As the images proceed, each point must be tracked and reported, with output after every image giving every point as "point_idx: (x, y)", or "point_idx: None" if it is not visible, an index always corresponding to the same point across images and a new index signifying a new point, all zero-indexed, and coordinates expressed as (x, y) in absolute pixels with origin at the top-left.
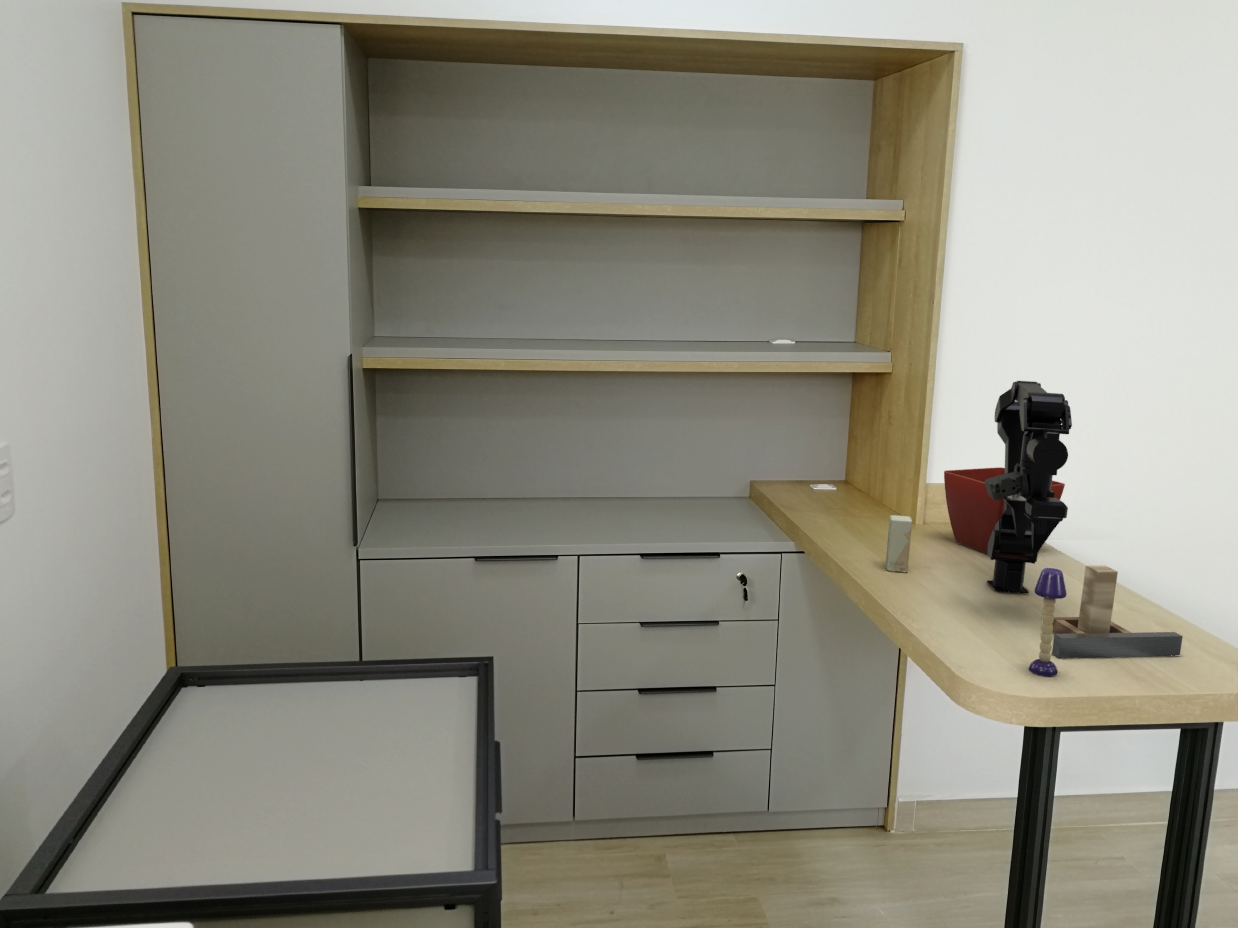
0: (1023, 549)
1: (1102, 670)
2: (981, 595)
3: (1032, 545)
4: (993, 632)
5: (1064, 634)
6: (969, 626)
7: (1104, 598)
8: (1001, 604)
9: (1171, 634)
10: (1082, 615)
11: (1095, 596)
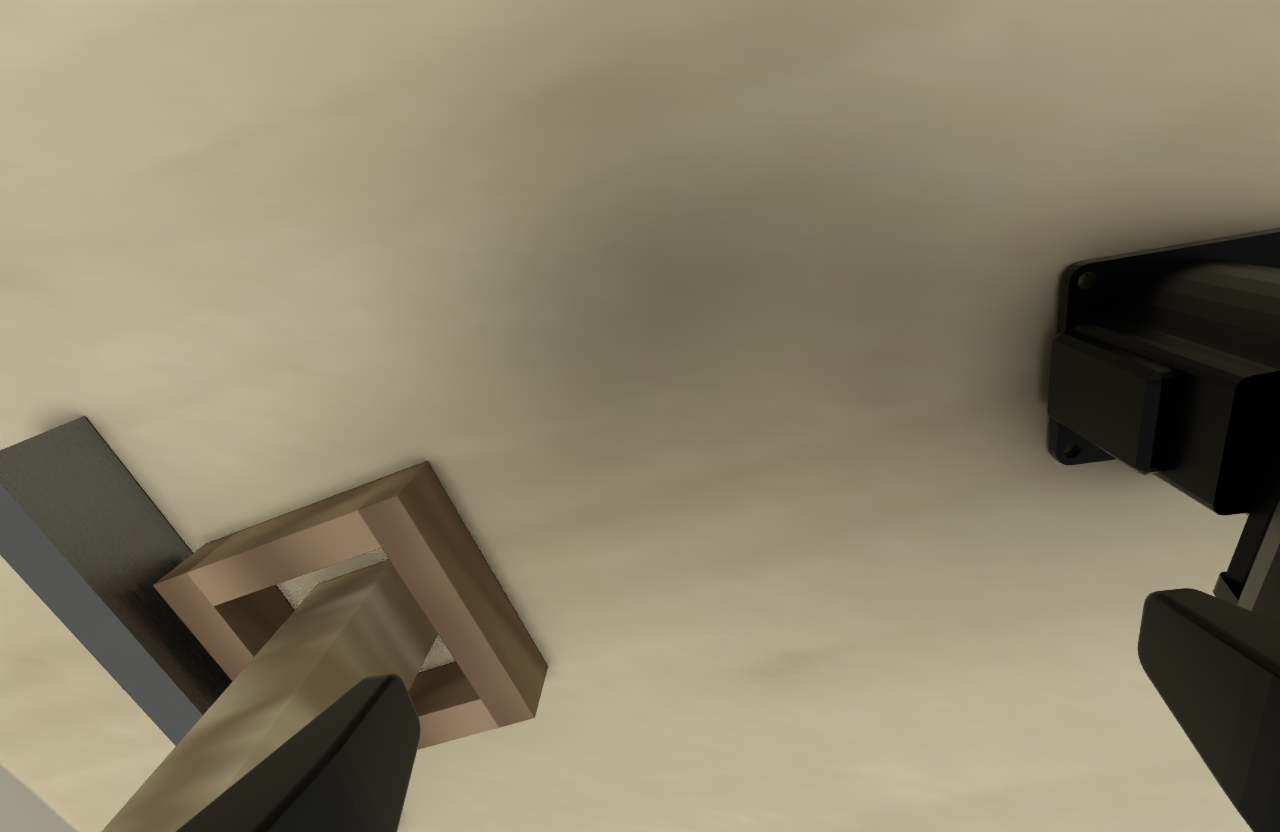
0: (1277, 575)
1: None
2: (984, 157)
3: (330, 721)
4: (234, 158)
5: (8, 506)
6: (262, 4)
7: None
8: (808, 272)
9: None
10: (311, 644)
11: (137, 794)
